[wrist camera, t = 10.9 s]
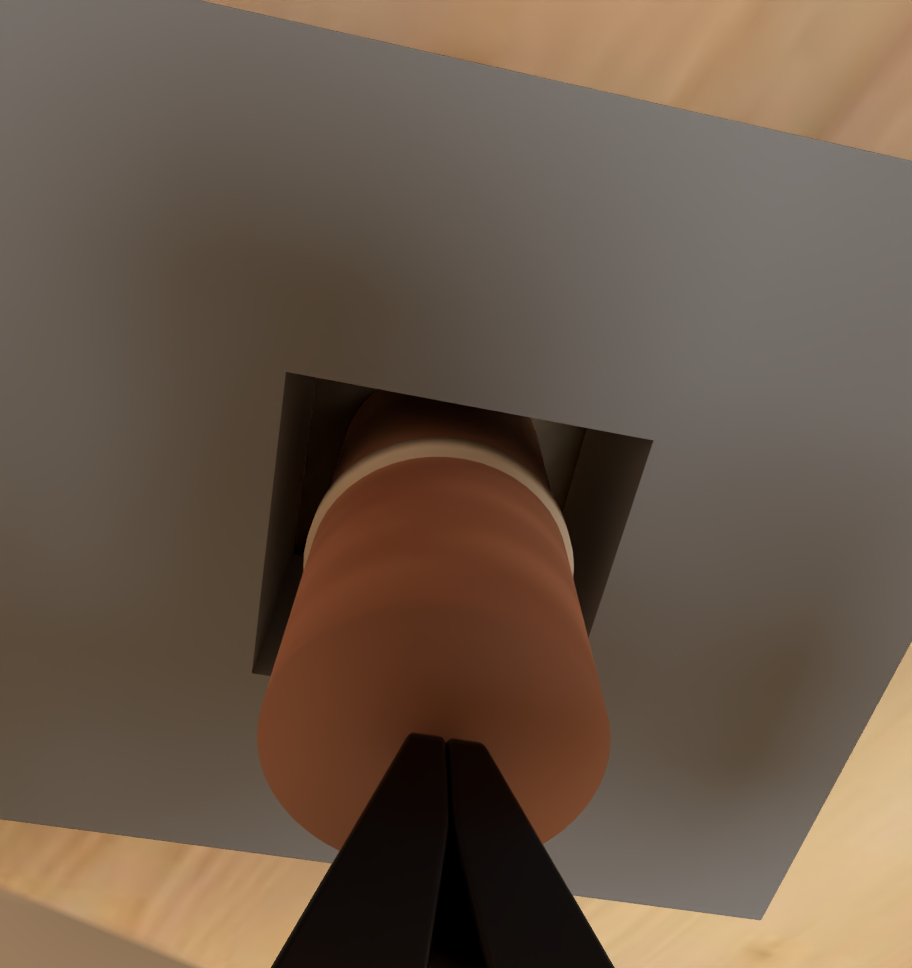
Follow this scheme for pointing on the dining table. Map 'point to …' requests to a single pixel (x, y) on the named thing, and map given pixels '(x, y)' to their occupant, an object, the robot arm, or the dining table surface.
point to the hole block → (446, 377)
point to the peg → (434, 621)
